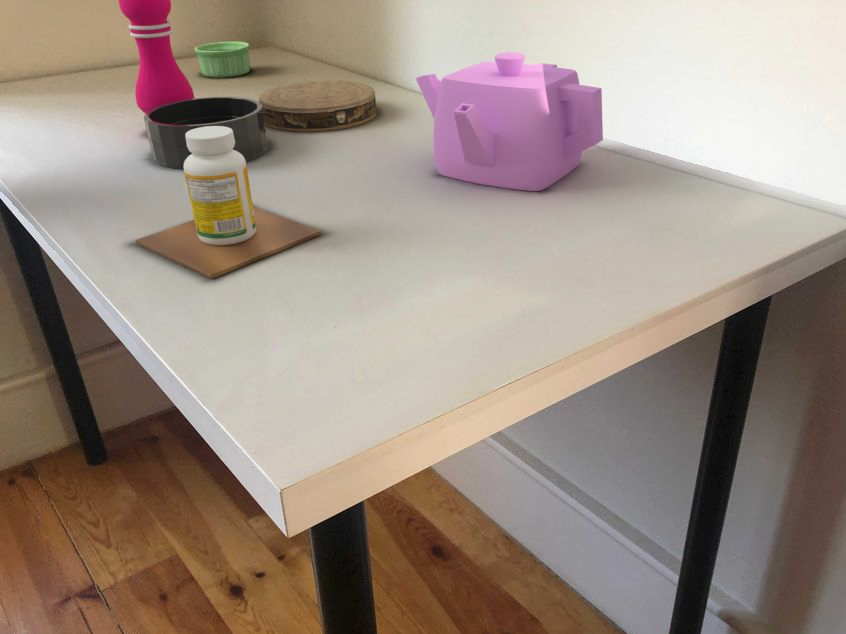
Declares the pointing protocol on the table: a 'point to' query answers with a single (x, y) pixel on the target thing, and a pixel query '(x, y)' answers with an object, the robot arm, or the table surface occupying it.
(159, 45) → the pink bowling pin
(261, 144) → the pan
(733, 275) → the table surface
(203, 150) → the supplement bottle
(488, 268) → the table surface
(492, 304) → the table surface
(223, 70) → the ramekin
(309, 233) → the mat
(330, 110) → the wood slice
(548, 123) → the teakettle
